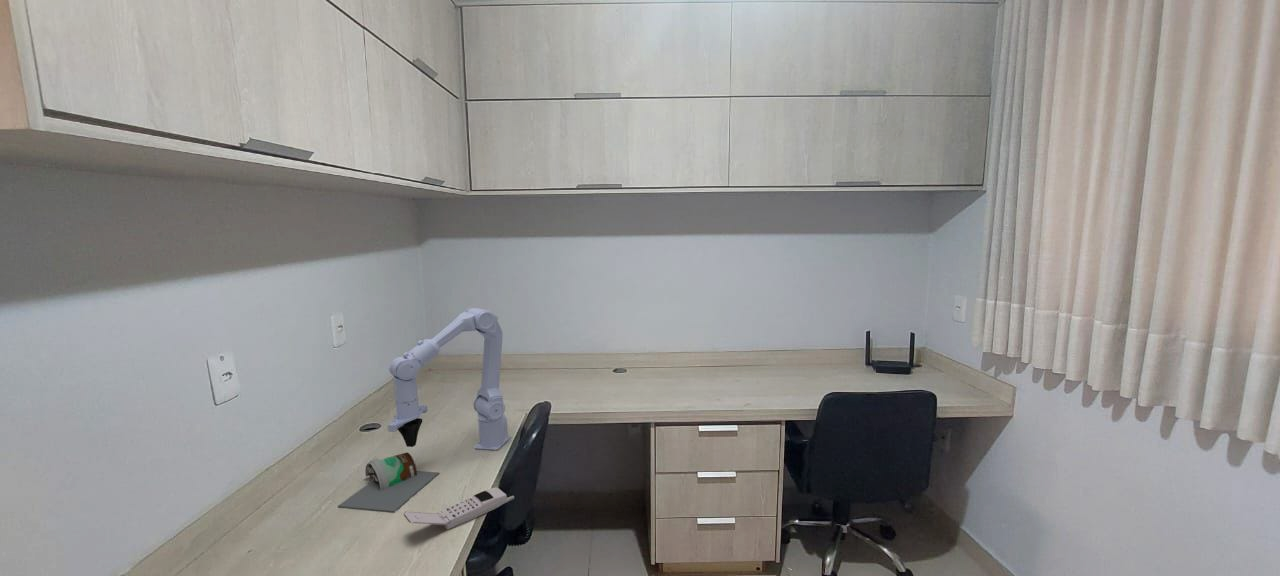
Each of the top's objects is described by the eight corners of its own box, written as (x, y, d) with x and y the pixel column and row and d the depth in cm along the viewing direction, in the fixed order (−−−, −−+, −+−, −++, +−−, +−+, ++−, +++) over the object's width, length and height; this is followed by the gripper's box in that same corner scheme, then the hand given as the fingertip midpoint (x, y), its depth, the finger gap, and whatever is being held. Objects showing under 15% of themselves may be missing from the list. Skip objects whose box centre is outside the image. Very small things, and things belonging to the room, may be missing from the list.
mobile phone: (401, 511, 112) (503, 471, 129) (404, 535, 113) (504, 492, 130) (411, 523, 108) (514, 479, 125) (413, 548, 109) (515, 501, 126)
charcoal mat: (389, 470, 144) (389, 468, 144) (439, 473, 141) (439, 472, 141) (338, 507, 125) (337, 505, 125) (394, 512, 122) (394, 511, 122)
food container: (417, 455, 138) (379, 469, 131) (419, 476, 139) (381, 491, 131) (399, 443, 146) (362, 455, 139) (401, 462, 147) (365, 476, 140)
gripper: (410, 390, 147) (414, 434, 149) (376, 408, 133) (381, 456, 135) (432, 391, 146) (436, 435, 147) (399, 409, 132) (404, 458, 133)
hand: (411, 445), depth 141 cm, fingers closed
